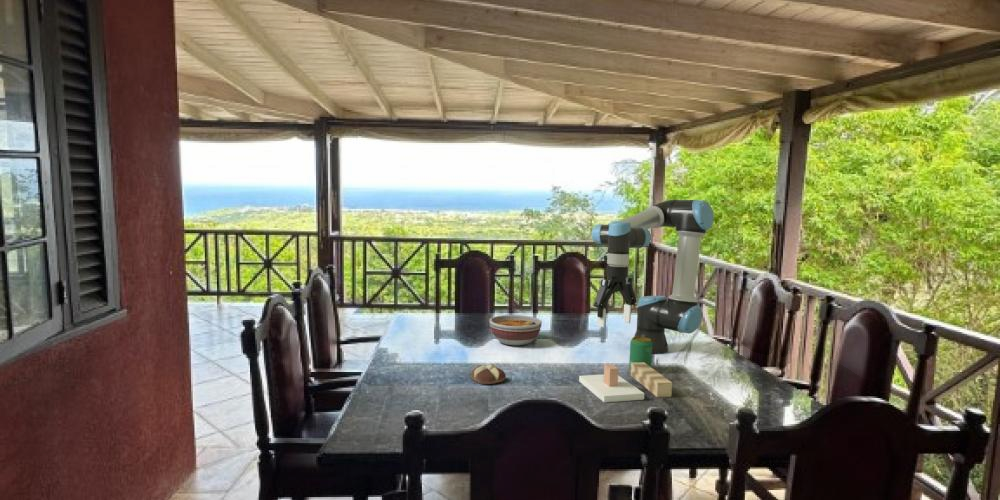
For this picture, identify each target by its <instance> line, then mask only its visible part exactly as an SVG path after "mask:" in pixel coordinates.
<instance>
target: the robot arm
mask: <svg viewBox="0 0 1000 500" xmlns="http://www.w3.org/2000/svg"><path fill="white" fill-rule="evenodd" d="M713 225H714V211H713V208H712V206H711V204H710V203H709V202H707V201H706V200H701V199H668V200H665V201H660V202H658V203H656V204H653V205H649V206H648V207H646V209H644V211H641V212H637V213H635V214H633V215H630V216H628V217H625V218H622V219H619V220H617V221H610V223H608V224H597V225H595V226H593V228H592V230H591V239H592V241H593V242H594V243H595V244H598V245H601V246H603V245H604V246H607V253H606V254H607V257H606V258H607V259H606V264H607V266H606V270H605V272H606V273H605V275H606V277H607V280H606V279H601V280H600V284H599V285H600V286H599V289H598V291H597V294H596V297H595V299H594V301H593V303H592V304H593V306H594V307H595V308H597V327H599V328H605V327H606V315H607V310H606V305H607V304H608V302H609V300H610V299H611V297H612V295H613V294H615V293H618V292H619V293H620V295H621V297H622V298H623V301H624V305H623V318H622V319H623V320H622V321H623V323H627V324H631V320H632V319H631V317H632V316H631V315H632V311H633V308H632V307H633V306H635V304H636V303H637V307H636V308H637V314H636V315H637V317H636V331H635V333H634V336H633V337H646V338H649V339H651V342H652V353H654V354H655V355H656V354H658V353H660V354H665V353H667V352H668V351H669V344H668V340H667V338H666V334H665V333H666V332H665V330H670V331H673V332H674V331H675V332H679V333H683V334H693V333H694V332H695V331H696V330H697V329H698V328H699V327H700V325H701V322H702V319H703V318H702V317H703V310H702V307H700V306H699V305H698V304H699V303H698V302H699V301H698V300H697V298H696V296H695V292H696V285H697V275H698V269H699V259H700V249H701V243H702V242H701V241H702V238H703V237H705V236H706V233H707V231H708V230H710V229H711V228H712V226H713ZM660 227H661V228H665V227H667V228H675V233H676V234H677V235H678V243H677V251H676V260H675V267H674V268H675V269H674V277H673V286H672V293H671V294H670V295H669V296H668V298H667V296H665V295H646V296H645V295H644V296H641V297H639V298H638V302H637V297H636V295H635V290H634V287H633V279H632V278H631V277H628V276H629V266H628V265H629V261H630V249H636V248H637V249H641V248H646V247H648V246H649V245H650V243H651V241H652V234H651V232H650V229H652V228H653V229H659V228H660ZM658 355H659V354H658Z"/></svg>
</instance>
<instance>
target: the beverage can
mask: <svg viewBox="0 0 1000 500" xmlns="http://www.w3.org/2000/svg"><path fill="white" fill-rule="evenodd" d="M629 345H630V346H629V359H628V360H629V362H628V363H629V364H628V367H629V370H630V371H631V363H641V362H644V363H646V364H647V365H649V366H650V367H651V368H652V359H653V357H652V355H653V354H652V342H651V339H649V338H646V337H634V336H633V337H632V338H631V340H630V344H629Z"/></svg>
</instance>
